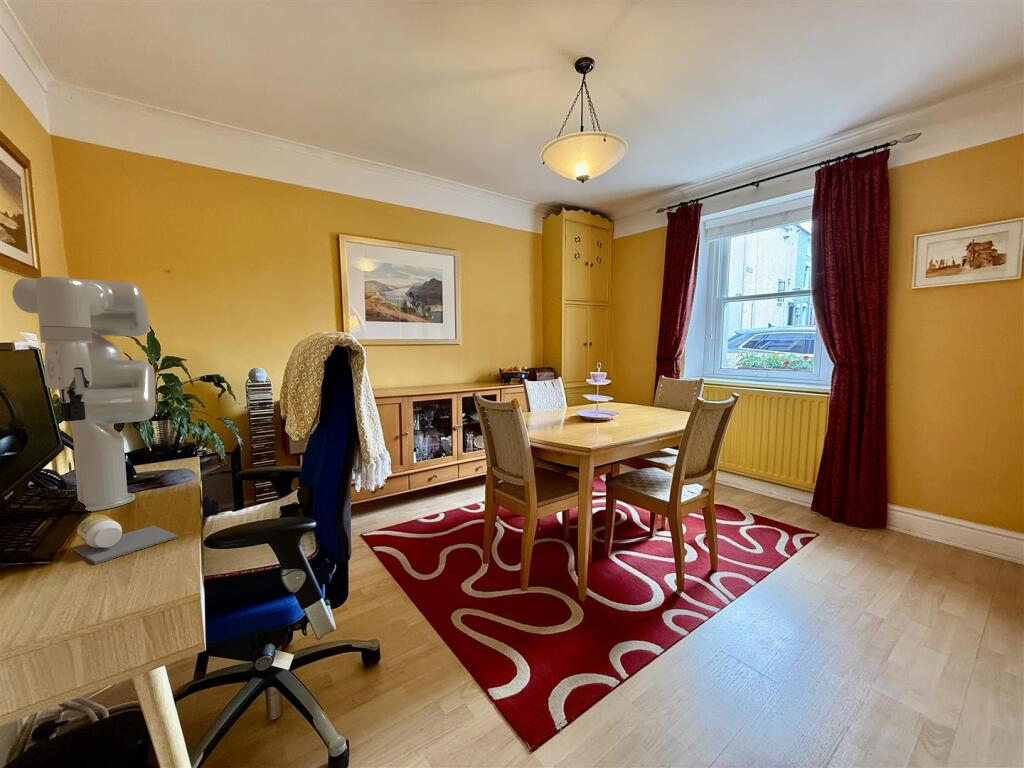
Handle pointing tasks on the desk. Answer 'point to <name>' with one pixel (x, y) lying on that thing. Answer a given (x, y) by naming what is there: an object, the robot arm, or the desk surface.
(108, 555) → the rubber mat
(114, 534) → the supplement bottle
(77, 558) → the desk surface
